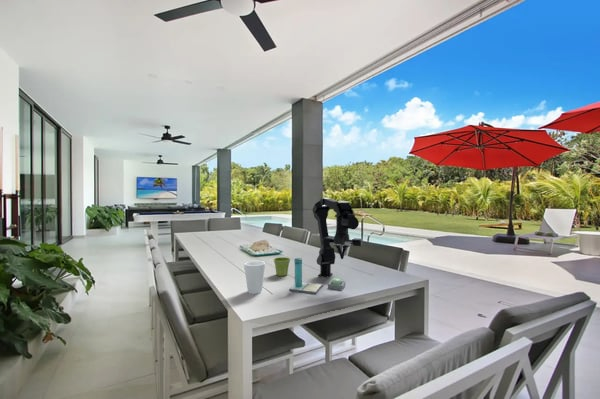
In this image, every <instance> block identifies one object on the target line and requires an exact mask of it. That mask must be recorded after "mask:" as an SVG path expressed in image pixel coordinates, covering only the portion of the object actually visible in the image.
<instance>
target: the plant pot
mask: <svg viewBox="0 0 600 399" xmlns="http://www.w3.org/2000/svg"><path fill="white" fill-rule="evenodd" d="M273 261H274V265H275V274H276V276H278V277H285V276H288V273H289V265H290V261H291V258H290V257H286V256H285V257H284V256H283V257H282V256H280V257H279V256H278V257H274V258H273Z"/></svg>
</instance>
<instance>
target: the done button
mask: <svg viewBox="0 0 600 399" xmlns="http://www.w3.org/2000/svg"><path fill="white" fill-rule="evenodd" d="M331 280H332V284H338V285H341V281H342V278H332V279H331Z"/></svg>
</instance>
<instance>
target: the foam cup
mask: <svg viewBox="0 0 600 399" xmlns="http://www.w3.org/2000/svg"><path fill="white" fill-rule="evenodd" d="M243 265H244V266H243V268H244V272H245V281H246V288H247V293H248V292H249V293H248V294H250V293H253V294H252V295H257V293H258V294H261V293H262V292H263V285H264V278H265V270H266V262H265V261H263V260H262V261H261V260H251V261H247V262H244V264H243Z"/></svg>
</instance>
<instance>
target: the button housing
mask: <svg viewBox="0 0 600 399" xmlns="http://www.w3.org/2000/svg"><path fill="white" fill-rule="evenodd" d="M345 287H346V280H345V281H343V280H341V285H338V284H332V279H331V280H330V281H329V282H328V284H327V289H330V290H331V289H332V290H333V289H334V290H340V291H343V290H344V288H345Z"/></svg>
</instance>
